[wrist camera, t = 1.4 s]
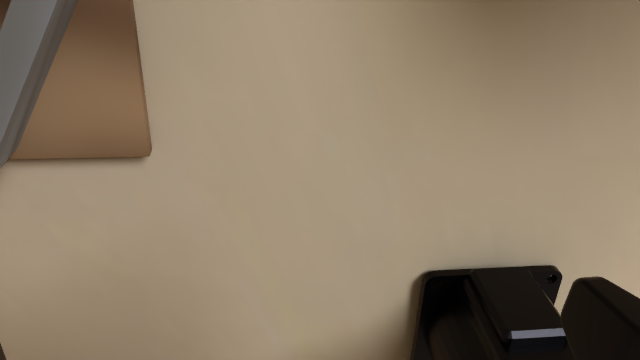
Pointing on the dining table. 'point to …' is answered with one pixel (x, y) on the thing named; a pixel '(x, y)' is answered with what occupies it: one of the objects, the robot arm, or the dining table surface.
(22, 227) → the dining table surface
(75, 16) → the cap board
